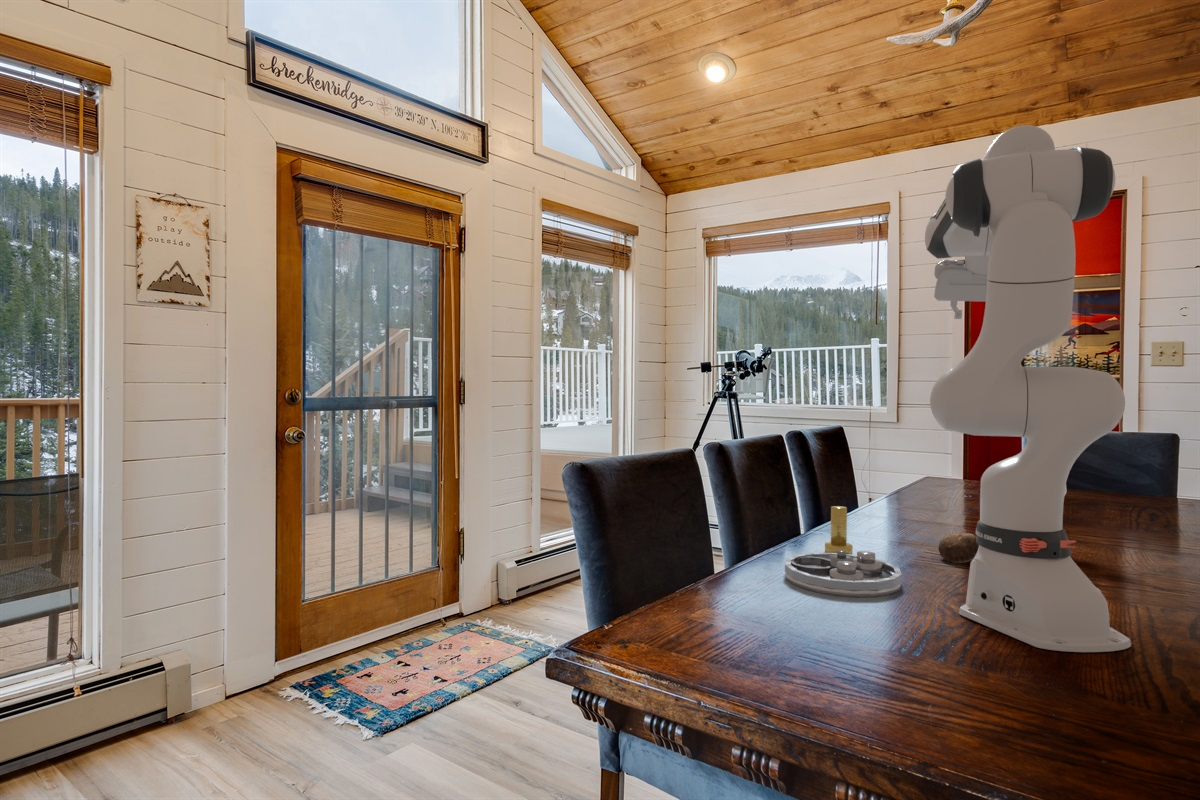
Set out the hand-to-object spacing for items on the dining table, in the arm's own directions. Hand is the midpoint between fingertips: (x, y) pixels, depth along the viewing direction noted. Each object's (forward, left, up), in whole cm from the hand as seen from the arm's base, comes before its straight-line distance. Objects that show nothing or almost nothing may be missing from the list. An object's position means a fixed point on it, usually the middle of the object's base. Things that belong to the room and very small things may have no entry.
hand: (980, 318), depth 157 cm
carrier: (-29, +45, -51) cm, 74 cm away
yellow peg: (-9, +37, -51) cm, 64 cm away
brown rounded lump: (-17, +15, -52) cm, 56 cm away
